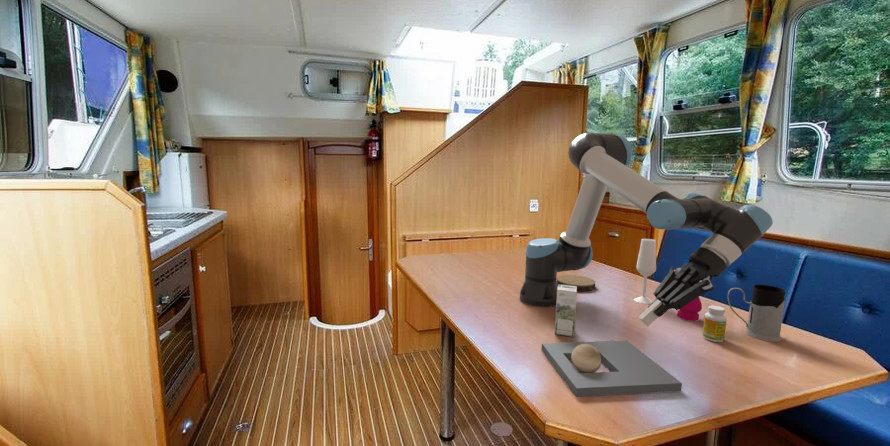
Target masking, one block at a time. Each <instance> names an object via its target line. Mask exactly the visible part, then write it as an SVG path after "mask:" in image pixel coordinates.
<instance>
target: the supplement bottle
mask: <svg viewBox="0 0 890 446" xmlns="http://www.w3.org/2000/svg"><path fill="white" fill-rule="evenodd" d="M707 311H708V312H705V314H704V318H703V319H704V320H703V329H702V338H704V339H705V340H707V341H709V342H715V343H723V342H724V341H725V335H726V330H727V329H726V326H727V316H726V315H725V311H726V310H725V308H724V307H722V306H718V305H708V309H707Z"/></svg>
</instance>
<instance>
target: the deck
mask: <svg viewBox="0 0 890 446" xmlns="http://www.w3.org/2000/svg"><path fill="white" fill-rule="evenodd" d="M581 344H589V345H591V346H593V347H595V348H596V349H597V350H598V352H599V353H600V356H601V364H603V365H604V366H605V367H606V369H608V370H609V371H603V372H600V371H599V372H598V371H596V372H594V373H582V372H580V371H578V370H577V369H576V368H575V367H574V365H573V363H572V360H571V355H572V351H573V350H574V348H575V347H577V346H578V345H581ZM541 352H542V353H543V354H544V355H545V357H546V358H547V360H548V361H549V362H550V363H551V365H552V366H553V368H554V369H555V370H556V372H557V373H558V374H559V376H560V377H561V378H562V380H563V381H564V383H565V384H566V386H567V387H568V388H569V389H570V390H571V392H572V393H573V395H574V396H575V397H592V396H593V397H594V396H611V395H612V396H613V395H631V394H633V395H634V394H650V393H651V394H653V393H654V394H655V393H673V392H674V393H675V392H682V385H683V383H682V382H681V380H679V379H677V378H676V377H675V376H674V375H672V374H671V373H670V372H669V371H667V370H666V369H664V368H663V367H662V366H661V365H660V364H658V363H657V362H655V361H654V360H653V359H652V358H650V357H649V356H648V355H647V354H645V353H644V352H642V351H641V350H640V349H639V348H637V347H636V346H635V345H633V344H632V343H631V342H630V341H628V340H600V341H599V340H597V341H574V342H573V341H572V342H570V341H569V342H546V343H545V342H543V343H541Z"/></svg>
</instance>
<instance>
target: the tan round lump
mask: <svg viewBox="0 0 890 446" xmlns="http://www.w3.org/2000/svg"><path fill="white" fill-rule="evenodd" d="M570 361H571V364H572V365H573V366H574V367H575V368H576V370H577V371H578V372H579V373H596V372H598V370H599V369H600V367H601V365H602V362H601V356H600V353H599V352H598V350H597V349H596V348H595V347H593V346H591V345H589V344H581V345H578V346H577V347H575V348H574V350H573V351H572V355H571V360H570Z"/></svg>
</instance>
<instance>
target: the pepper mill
mask: <svg viewBox="0 0 890 446" xmlns="http://www.w3.org/2000/svg"><path fill="white" fill-rule="evenodd" d="M677 304H678V303H677ZM702 307H703V306H702V301H701V299H700V296H699V297H698V298H696V299H695V300H693V301H691V302H690V303H688V304H687V305H685V306H684V307H682V308H681V309H679V310H677V314H676V315H677V317H678V318H679V319H681V320H683V321H687V322H688V321H689V322H697V321H699V320H700V314H699V313H700V312H701V311H702V309H703V308H702Z"/></svg>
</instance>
